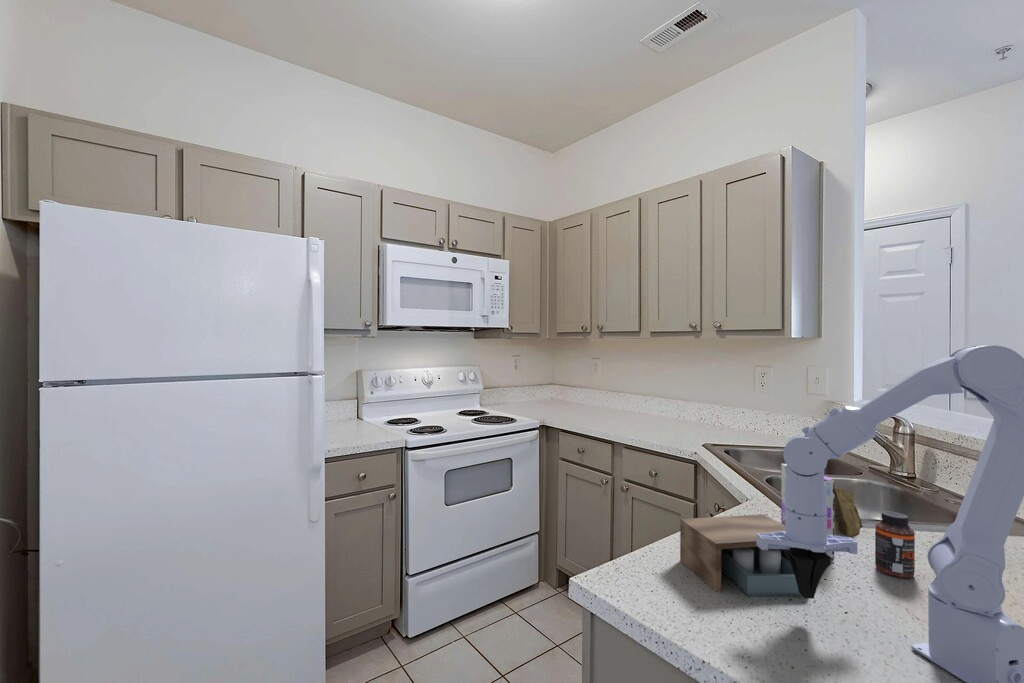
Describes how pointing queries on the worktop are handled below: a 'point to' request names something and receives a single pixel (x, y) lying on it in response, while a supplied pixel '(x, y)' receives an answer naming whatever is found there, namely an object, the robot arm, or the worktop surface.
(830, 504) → the candy box
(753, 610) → the worktop surface
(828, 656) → the worktop surface
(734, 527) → the shelf
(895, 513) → the supplement bottle
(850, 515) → the rock
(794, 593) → the tray
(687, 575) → the worktop surface
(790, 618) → the worktop surface
